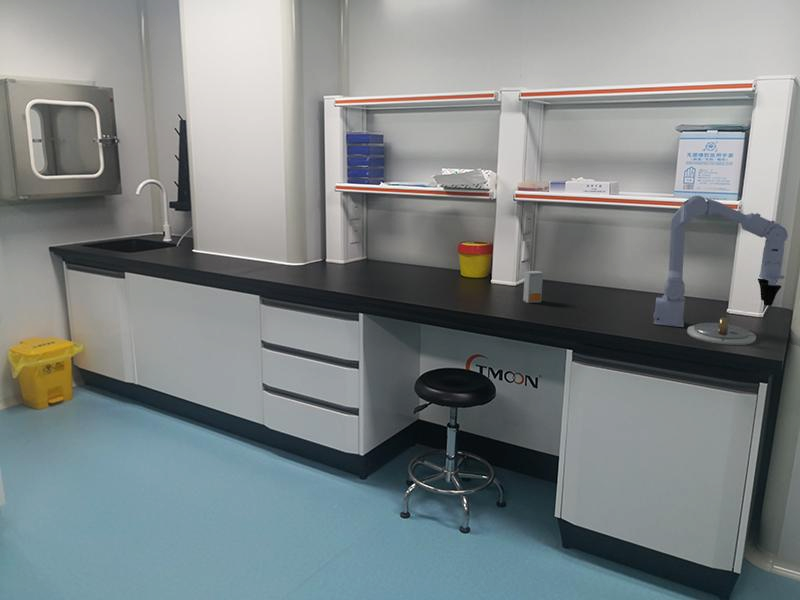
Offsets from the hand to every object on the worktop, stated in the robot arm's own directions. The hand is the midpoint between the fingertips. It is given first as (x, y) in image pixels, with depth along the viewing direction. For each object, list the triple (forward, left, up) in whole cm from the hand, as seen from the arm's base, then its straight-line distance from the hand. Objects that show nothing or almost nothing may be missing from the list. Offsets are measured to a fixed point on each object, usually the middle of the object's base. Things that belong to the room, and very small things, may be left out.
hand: (766, 302), depth 211 cm
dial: (-13, -10, -9) cm, 19 cm away
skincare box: (-79, +14, -10) cm, 81 cm away
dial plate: (-13, -10, -10) cm, 19 cm away
